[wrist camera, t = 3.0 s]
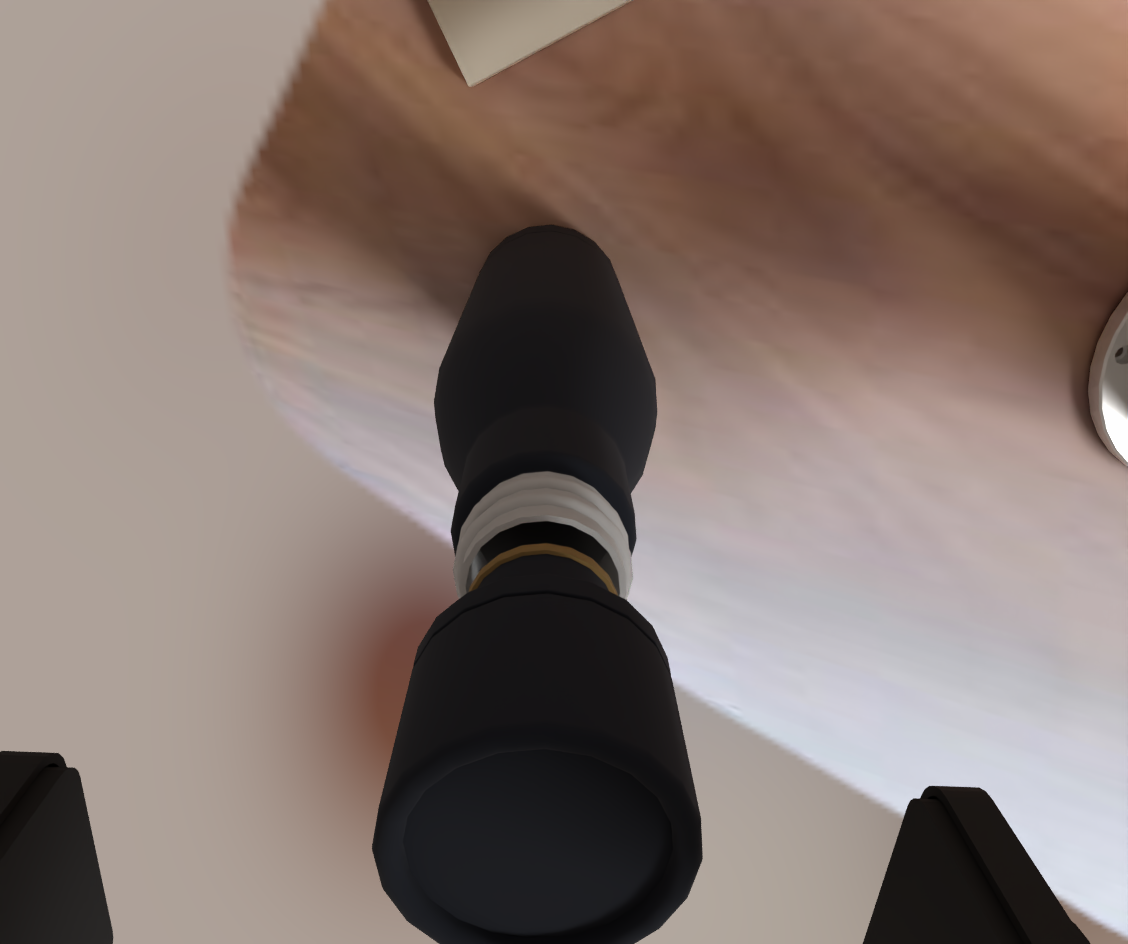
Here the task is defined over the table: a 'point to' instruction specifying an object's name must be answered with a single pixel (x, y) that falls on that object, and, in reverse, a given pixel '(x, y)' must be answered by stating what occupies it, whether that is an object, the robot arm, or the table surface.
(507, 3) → the bottle stand
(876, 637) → the table surface
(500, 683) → the wine bottle
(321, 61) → the table surface
